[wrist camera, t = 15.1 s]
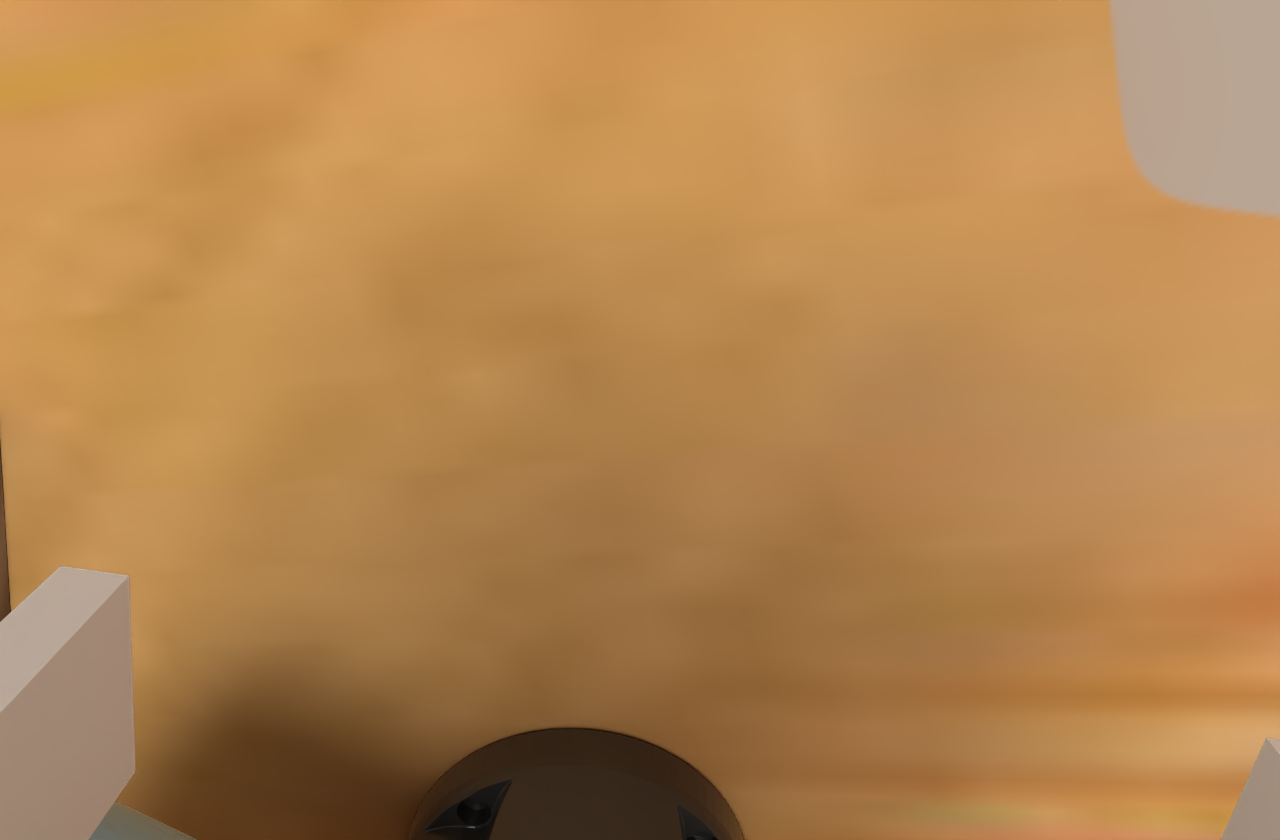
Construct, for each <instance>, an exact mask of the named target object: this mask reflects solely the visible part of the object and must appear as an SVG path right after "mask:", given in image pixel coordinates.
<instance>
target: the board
mask: <svg viewBox="0 0 1280 840" xmlns="http://www.w3.org/2000/svg"><path fill="white" fill-rule="evenodd" d="M9 613H10V599H9V583H8V567H7V550H6V534H5V517H4V501H3V485H2V468H1V452H0V622H1V621H2V620H3V619H4V618H5V617H6V616H7V615H8V614H9Z"/></svg>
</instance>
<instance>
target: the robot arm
mask: <svg viewBox="0 0 1280 840" xmlns="http://www.w3.org/2000/svg"><path fill="white" fill-rule="evenodd" d="M135 772H136V770H135V739H134V707H133V676H132V645H131V613H130V582H129V575H122V574H115V573H108V572H101V571H94V570H87V569H80V568H73V567H66V566H60V567H59V568H58V569H57V570H56V571H55V572H54V573H52V574H51V575H50V576H49V577H48V578H47V579H46V580H45V581H44V582H43V583H42V584H41V585H40V586H39V587H37V588H36V589H35V590H34V591H33V592H32V593H31V594H30V595H29V596H28V597H27V598H26V599H25V600H23V601H22V602H21V603H20V604H19V605H18V606H17V607H16V608H15V609H14V610H13V611H12V612H11V613H9V614H8V615H7V616H6V617H5V618H4V619H3V620H2V621H1V622H0V840H197V839H195V838H193V837H191V836H189V835H187V834H185V833H183V832H181V831H179V830H177V829H174V828H172V827H170V826H168V825H166V824H164V823H162V822H160V821H158V820H156V819H153V818H151V817H149V816H147V815H145V814H143V813H141V812H139V811H137V810H135V809H133V808H130V807H128V806H126V805H124V804H122V803H119V802H116V799H117V798H118V796H119V795H120V793H121V792H122V790H123V789H124V788H125V786H126V785H127V783H128V782H129V780H130V779H131V777H132V776H133V775H134V773H135ZM407 840H744V837H743V834H742V831H741V829H740V826H739V824H738V822H737V820H736V818H735V816H734V814H733V812H732V811H731V809H730V807H729V806H728V804H727V803H726V801H725V800H724V799H723V797H722V796H721V795H720V794H719V792H718V791H717V790H716V789H715V788H714V787H713V786H712V785H711V784H710V783H709V782H708V781H707V780H706V779H705V778H704V777H703V776H702V775H701V774H699V773H698V772H697V771H696V770H694V769H693V768H692V767H690V766H689V765H688V764H686V763H685V762H683V761H681V760H680V759H678V758H677V757H675V756H673V755H671V754H670V753H668V752H666V751H664V750H662V749H659V748H657V747H655V746H653V745H650V744H648V743H645V742H643V741H640V740H636V739H633V738H630V737H626V736H622V735H618V734H614V733H608V732H603V731H595V730H584V729H556V730H545V731H537V732H531V733H526V734H521V735H518V736H514V737H510V738H507V739H504V740H501V741H498V742H496V743H493V744H491V745H489V746H486V747H484V748H482V749H480V750H478V751H476V752H474V753H473V754H471V755H469V756H468V757H466V758H464V759H463V760H462V761H460V762H459V763H457V764H456V765H455V766H453V767H452V768H451V769H450V770H449V771H447V772H446V773H445V774H444V775H443V776H442V777H441V778H440V779H439V780H438V781H437V782H436V783H435V784H434V786H433V787H432V788H431V789H430V791H429V792H428V793H427V795H426V796H425V798H424V799H423V801H422V803H421V804H420V806H419V808H418V810H417V812H416V814H415V816H414V819H413V822H412V825H411V828H410V831H409V834H408V838H407ZM1221 840H1280V740H1278V739H1271V738H1266V739H1265V742H1264V744H1263V746H1262V748H1261V751H1260V753H1259V755H1258V757H1257V760H1256V762H1255V764H1254V766H1253V768H1252V771H1251V773H1250V775H1249V777H1248V780H1247V782H1246V784H1245V786H1244V789H1243V791H1242V793H1241V795H1240V798H1239V800H1238V802H1237V804H1236V807H1235V809H1234V811H1233V813H1232V816H1231V818H1230V820H1229V822H1228V825H1227V827H1226V829H1225V831H1224V833H1223V836H1222V838H1221Z"/></svg>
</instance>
